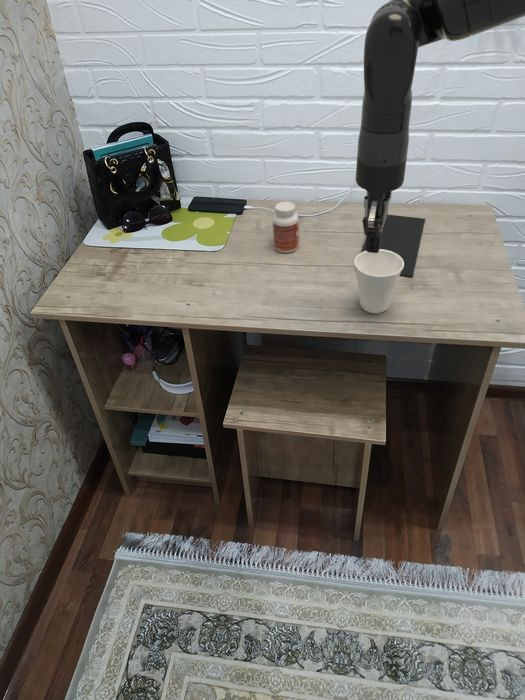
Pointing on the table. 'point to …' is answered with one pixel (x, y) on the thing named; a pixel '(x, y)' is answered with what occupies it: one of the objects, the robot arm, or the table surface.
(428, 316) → the table surface
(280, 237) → the pill bottle
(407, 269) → the mat
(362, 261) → the cup
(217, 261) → the table surface
